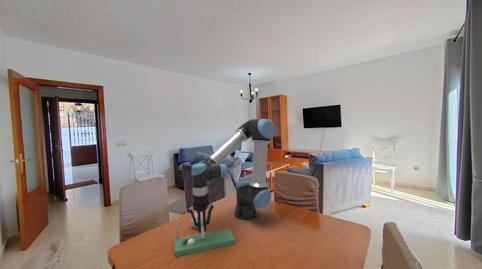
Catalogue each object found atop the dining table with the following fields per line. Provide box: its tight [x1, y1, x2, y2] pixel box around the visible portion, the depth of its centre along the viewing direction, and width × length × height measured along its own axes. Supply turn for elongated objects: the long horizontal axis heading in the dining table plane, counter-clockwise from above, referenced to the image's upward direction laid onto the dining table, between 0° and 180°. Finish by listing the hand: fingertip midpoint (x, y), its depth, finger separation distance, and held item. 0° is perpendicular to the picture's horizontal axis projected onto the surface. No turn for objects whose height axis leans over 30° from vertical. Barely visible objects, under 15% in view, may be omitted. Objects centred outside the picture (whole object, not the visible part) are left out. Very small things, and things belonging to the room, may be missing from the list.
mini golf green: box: [174, 217, 236, 258], centre depth 109 cm, size 30×12×14 cm, turn 108°
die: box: [190, 212, 203, 229], centre depth 127 cm, size 8×9×10 cm
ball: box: [186, 239, 195, 246], centre depth 107 cm, size 4×4×4 cm
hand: (202, 237), depth 110 cm, fingers closed
